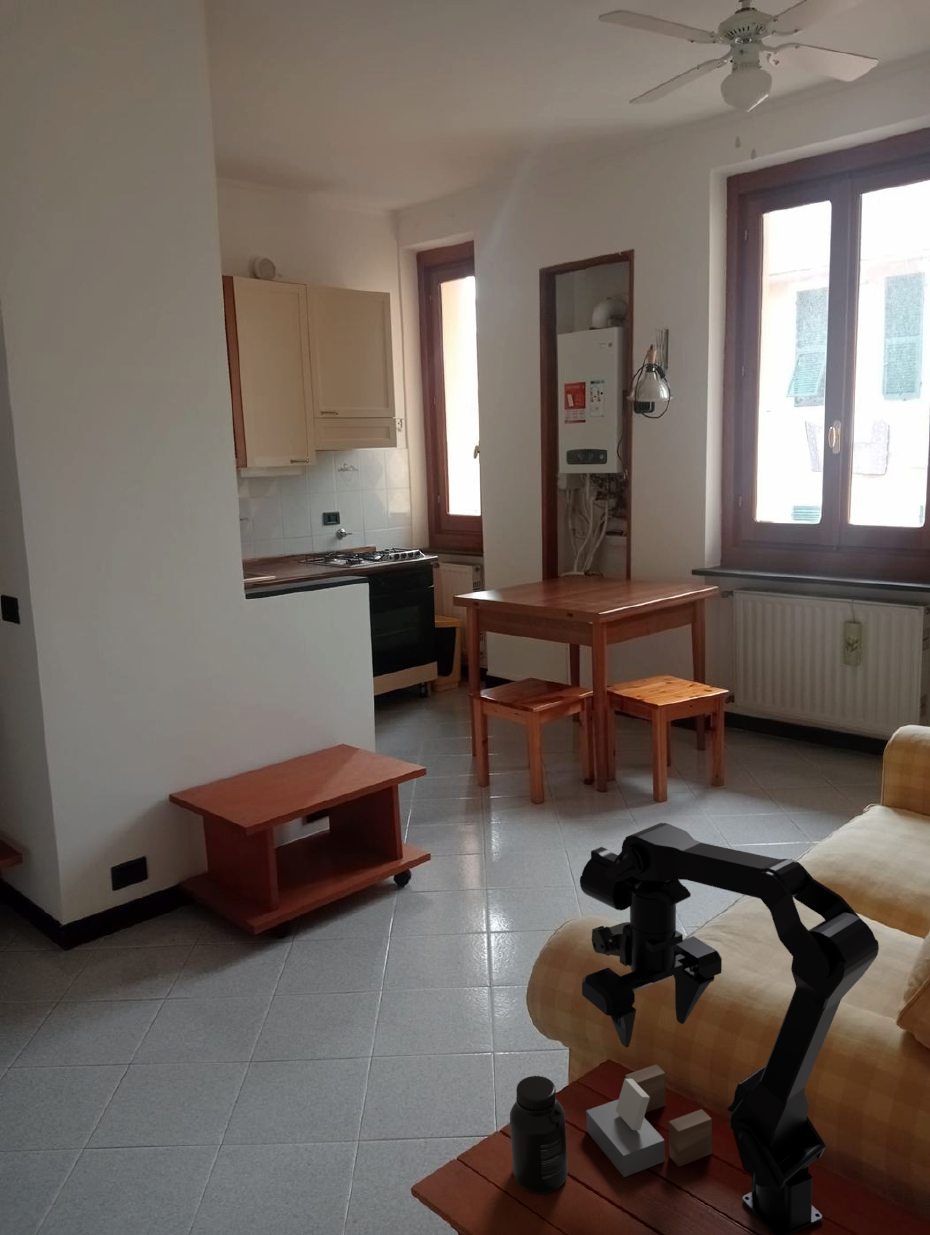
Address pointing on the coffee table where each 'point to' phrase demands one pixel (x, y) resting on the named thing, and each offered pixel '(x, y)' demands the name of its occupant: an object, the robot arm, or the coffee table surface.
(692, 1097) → the coffee table surface
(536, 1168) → the supplement bottle
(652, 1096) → the far post
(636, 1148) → the base
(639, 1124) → the plate
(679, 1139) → the beige block
